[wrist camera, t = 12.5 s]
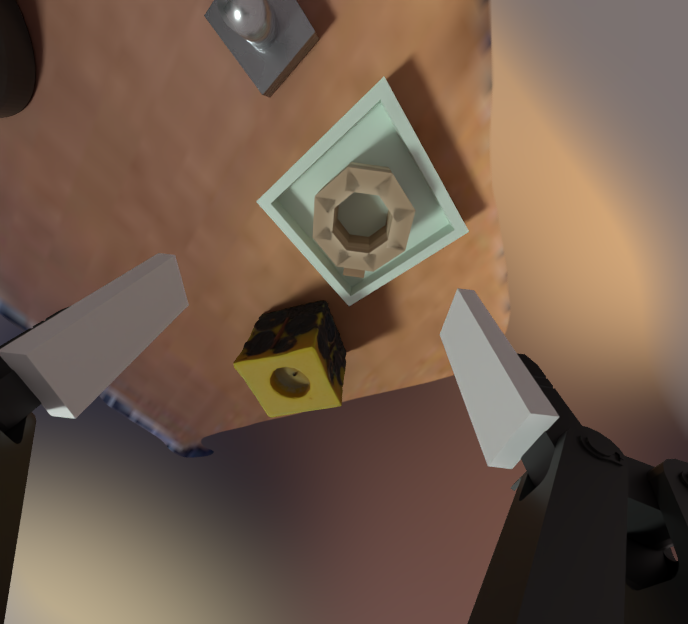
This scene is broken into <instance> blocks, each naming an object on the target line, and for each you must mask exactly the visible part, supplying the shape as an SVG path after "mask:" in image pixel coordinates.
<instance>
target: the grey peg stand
mask: <svg viewBox="0 0 688 624" xmlns="http://www.w3.org/2000/svg"><path fill="white" fill-rule="evenodd" d="M204 16H205V17H206V19H207V20H208V22H209V23H210V24H211V26H212V27H213V28H214V30H215V31H216V32H217V34H218V35H219V36H220V38H221V39H222V41H223V42H224V43H225V45H226V46H227V47H228V49H229V50H230V51H231V53H232V54H233V55H234V57H235V58H236V60H237V61H238V62H239V64H240V65H241V66H242V68H243V69H244V70H245V72H246V73H247V74H248V76H249V77H250V78H251V80H252V81H253V83H254V84H255V85H256V87H257V88H258V89H259V91H260V92H261V93H262V95H264V96H267V97H271V95H272V94H273V93H274V92H275V91H276V90H277V88H278V87H279V86H280V85H281V84H282V82H283V81H284V80H285V79H286V78H287V77H288V75H289V74H290V73H291V72H292V71H293V70H294V68H295V67H296V66H297V65H298V64H299V62H300V61H301V60H302V59H303V58H304V57H305V55H306V54H307V53H308V52H309V51H310V50H311V48H312V47H313V46H314V45H315V44H316V42H317V41H318V40H319V38H318V36H317V34H316V32H315V30H314V29H313V27H312V25H311V24H310V22H309V21H308V19H307V17H306V16H305V14H304V12H303V11H302V9H301V7H300V6H299V4H298V2H297V1H296V0H214V1H213V3H212V4H211V6H210V8H209V9H208V11H207V12H206V14H205V15H204Z"/></svg>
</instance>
